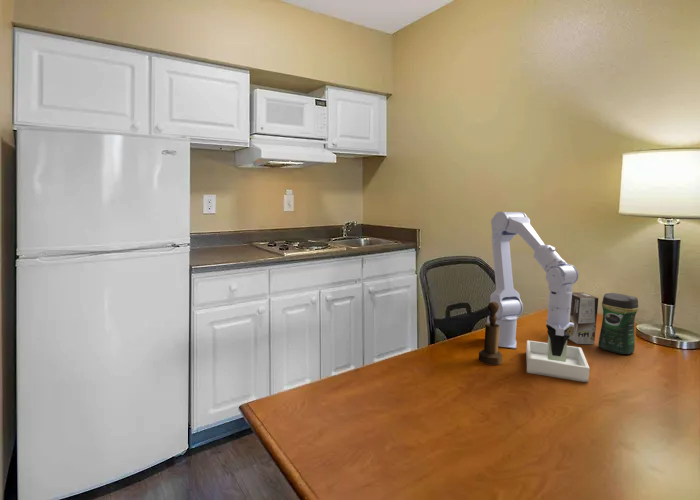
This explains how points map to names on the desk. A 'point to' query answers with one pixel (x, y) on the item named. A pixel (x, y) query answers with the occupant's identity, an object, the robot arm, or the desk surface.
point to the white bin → (557, 362)
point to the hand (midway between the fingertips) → (555, 352)
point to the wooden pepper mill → (491, 339)
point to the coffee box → (583, 318)
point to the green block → (556, 358)
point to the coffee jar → (618, 323)
